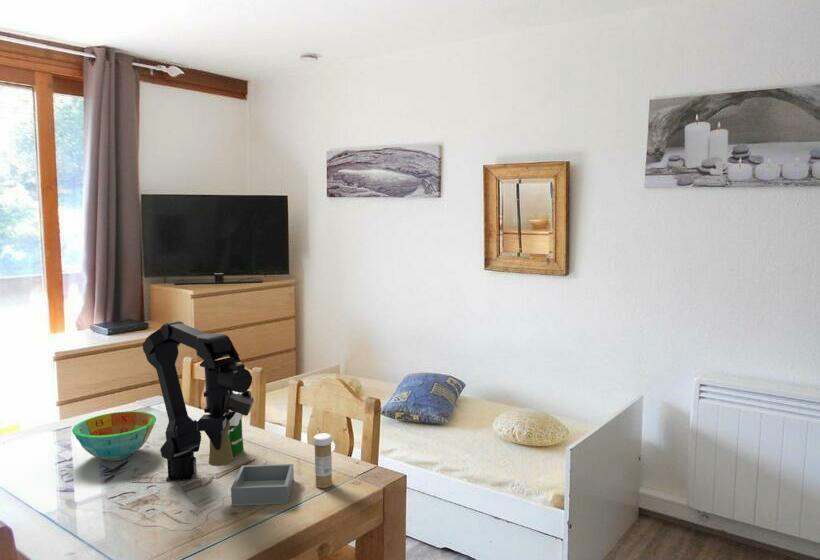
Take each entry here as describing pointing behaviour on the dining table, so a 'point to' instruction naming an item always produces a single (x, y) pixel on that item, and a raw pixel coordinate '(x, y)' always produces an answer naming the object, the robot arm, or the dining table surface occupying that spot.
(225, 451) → the cork
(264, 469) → the box
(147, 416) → the bowl
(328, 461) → the sprinkles bottle
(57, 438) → the dining table surface
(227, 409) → the robot arm
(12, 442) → the dining table surface
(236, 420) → the milk carton
